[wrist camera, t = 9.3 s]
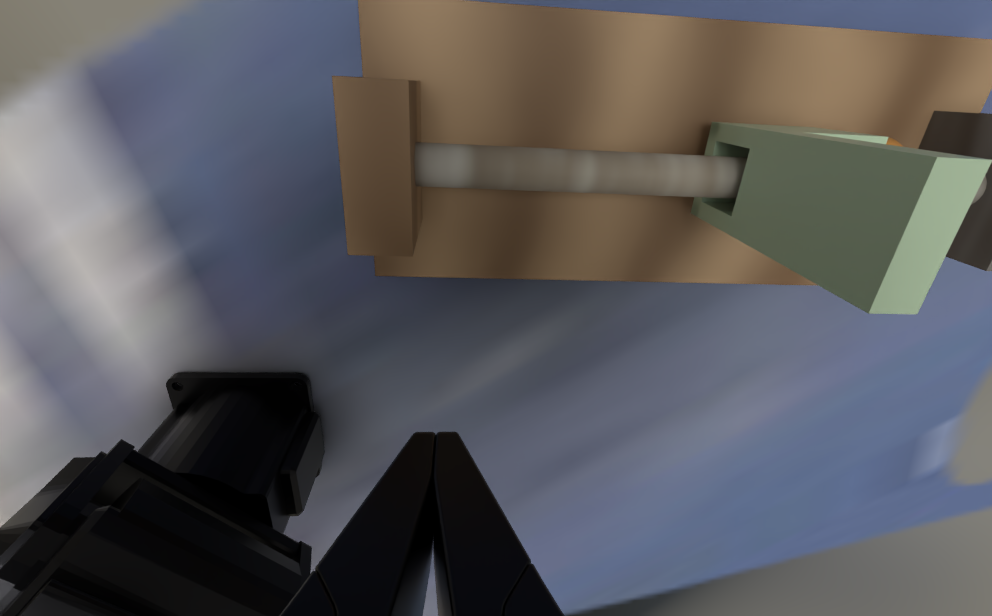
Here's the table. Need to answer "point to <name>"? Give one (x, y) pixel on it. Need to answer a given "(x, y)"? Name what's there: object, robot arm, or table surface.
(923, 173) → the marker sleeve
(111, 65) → the table surface
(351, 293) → the table surface
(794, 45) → the linear slide rail
